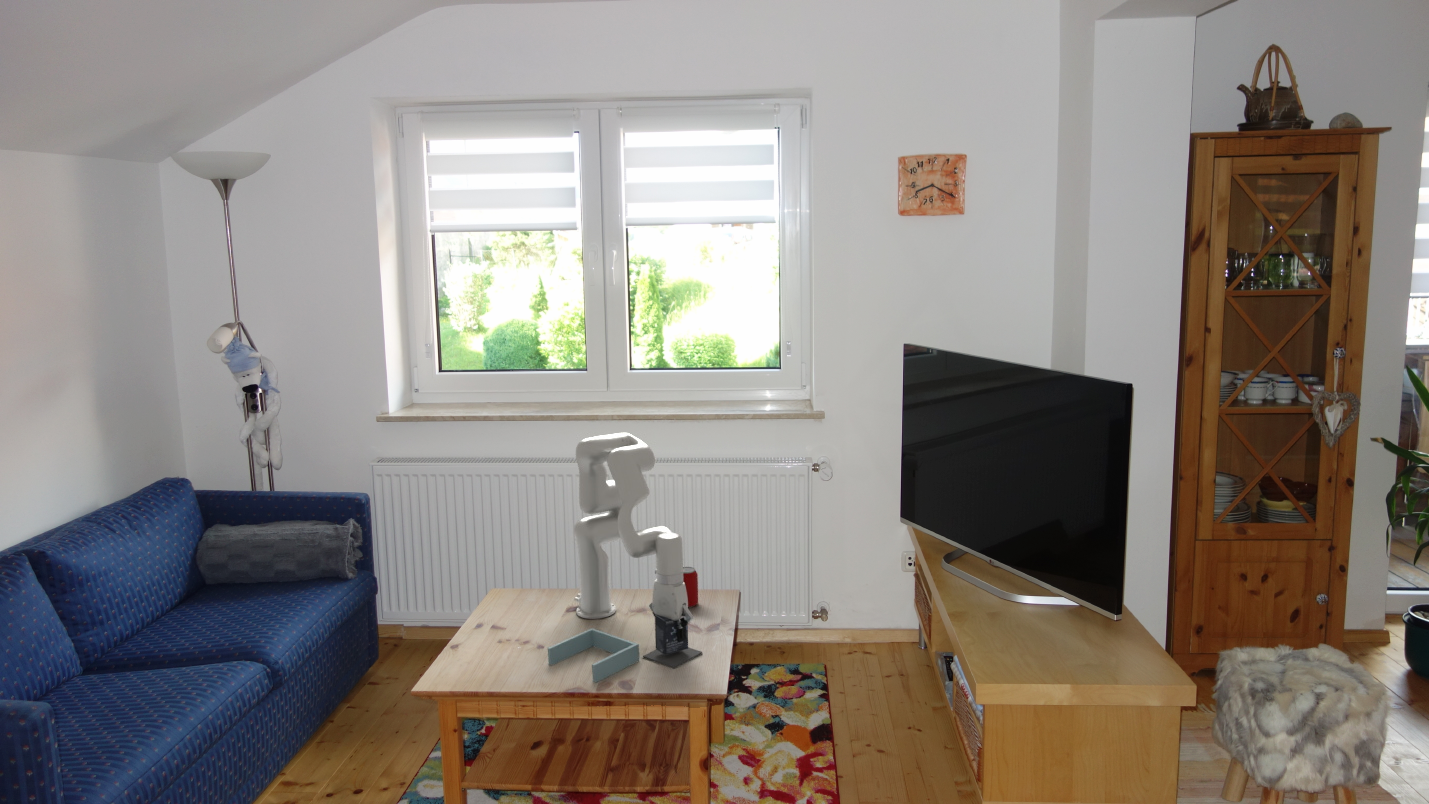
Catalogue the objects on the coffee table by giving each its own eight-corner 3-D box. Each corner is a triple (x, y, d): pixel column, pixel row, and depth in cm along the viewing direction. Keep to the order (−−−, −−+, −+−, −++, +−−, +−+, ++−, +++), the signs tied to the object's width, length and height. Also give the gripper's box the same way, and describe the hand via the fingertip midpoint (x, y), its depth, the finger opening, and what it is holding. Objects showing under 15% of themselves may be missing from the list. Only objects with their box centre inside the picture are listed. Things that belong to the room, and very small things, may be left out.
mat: (643, 657, 266) (642, 655, 266) (671, 643, 275) (671, 641, 275) (674, 668, 258) (674, 666, 258) (702, 653, 267) (702, 651, 267)
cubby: (548, 664, 263) (547, 647, 262) (592, 643, 276) (592, 627, 275) (595, 682, 251) (594, 665, 250) (639, 660, 264) (638, 643, 263)
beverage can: (677, 601, 308) (676, 566, 306) (697, 600, 308) (696, 565, 306) (678, 609, 301) (677, 573, 299) (699, 607, 302) (698, 572, 300)
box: (665, 656, 262) (664, 620, 260) (655, 649, 267) (653, 613, 265) (689, 648, 266) (688, 613, 264) (678, 642, 271) (677, 607, 269)
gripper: (638, 574, 265) (640, 633, 268) (684, 587, 255) (686, 649, 257) (656, 567, 271) (658, 625, 274) (702, 579, 260) (703, 640, 263)
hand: (671, 636), depth 266 cm, fingers closed on box, 6 cm apart
